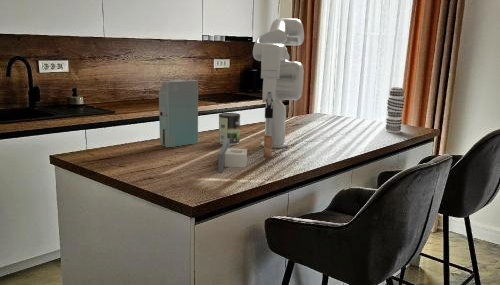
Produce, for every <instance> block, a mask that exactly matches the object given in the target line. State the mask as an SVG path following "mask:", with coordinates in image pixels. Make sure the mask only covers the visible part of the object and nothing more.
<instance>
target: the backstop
mask: <svg viewBox="0 0 500 285" xmlns="http://www.w3.org/2000/svg"><path fill="white" fill-rule="evenodd" d="M230 146H231V145H230V138H226V140H225V142H224V144H223V145H221V148H220V150H219V152H218V153H217V154H218V156H217V157H218V158H217V160H218V161H217V170H218V171H217V173H218V174H223V172H224V170H225V168H226V167H225V153H226V151H227V148H231V147H230Z"/></svg>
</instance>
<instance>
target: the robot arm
mask: <svg viewBox="0 0 500 285" xmlns="http://www.w3.org/2000/svg"><path fill="white" fill-rule="evenodd" d="M304 40H305V31H304V25H303V22H302V21H301V20H300V19H298V18H288V17H287V18H286V17H285V18H283V17H281V18H277V19H274V20H273V21H272V23H271V25H270V29H269V31H267V32H265V33H263V34H261V35H259V36H258V37H257V38H256V39H255V42H254V44H253V49H252V57H253V59H255V60H256V61H258V62H261V63H260V65H261V66H260V69H261V70H260V79H262V80H263V81H262V103H263V104H264V103H265V107H264V120H265V121H264V124H265V125H264V127H265V128H264V135H272V149H283V148H287V147H288V145H289V144H288V142H286V121H287V120H286V114H287V109H286V106H285V104H284V103H283V102H282V101H283V100H284V101H286V100H287V101H298V100H300V99H301V97H302V93H303V86H304V73H305V72H304V65H303V64H302V63H301V62H299V61H290V59H291V58H290V54H289V53H288V48H287V47H286V46H300V45H302V44H303V43H304ZM260 145H261V146H262V147H264V140H263V141H262V142H261V144H260Z"/></svg>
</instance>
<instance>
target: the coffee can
mask: <svg viewBox="0 0 500 285" xmlns="http://www.w3.org/2000/svg"><path fill="white" fill-rule="evenodd" d="M240 135H241V114H240V113H236V112H221V113H218V144H219V143H220V144H219V145H222V144H224V142H225V140H226V138H230V146H236V145H239V144H240V137H241V136H240Z"/></svg>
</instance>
